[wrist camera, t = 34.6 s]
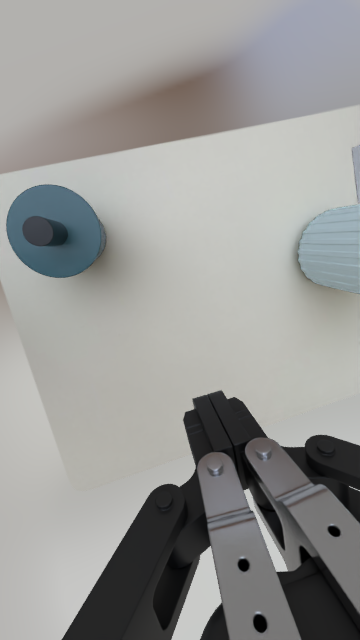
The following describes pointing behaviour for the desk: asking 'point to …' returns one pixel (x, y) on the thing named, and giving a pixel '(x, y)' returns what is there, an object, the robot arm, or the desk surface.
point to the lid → (54, 231)
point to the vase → (333, 249)
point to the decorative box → (357, 168)
